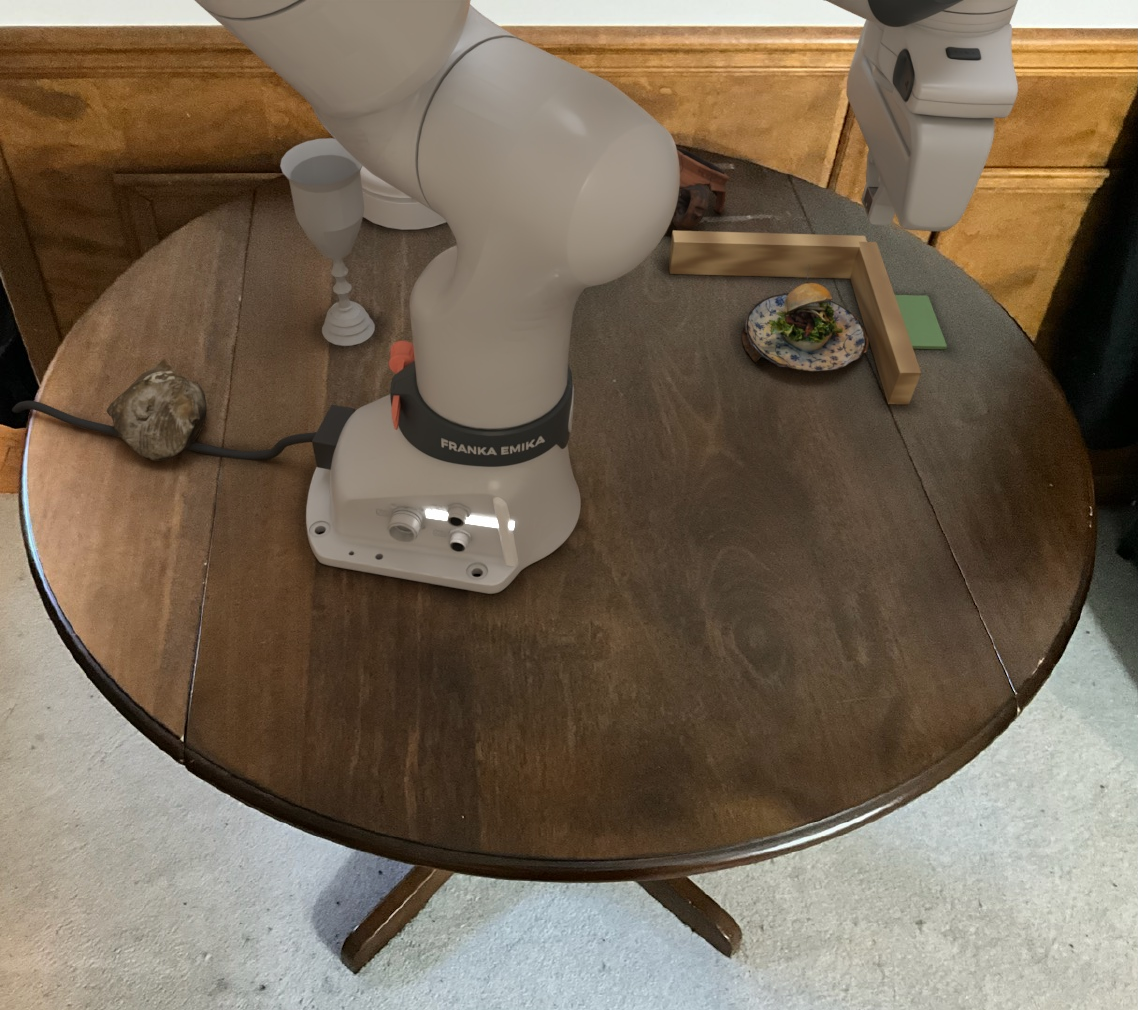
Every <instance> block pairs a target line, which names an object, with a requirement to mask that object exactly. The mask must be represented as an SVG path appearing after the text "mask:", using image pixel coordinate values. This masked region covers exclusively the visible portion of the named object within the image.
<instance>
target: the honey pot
mask: <svg viewBox="0 0 1138 1010" xmlns="http://www.w3.org/2000/svg"><path fill="white" fill-rule="evenodd" d="M360 175H361V183H362V191H363V199H364V214H363V218H364V219H366V220H367V221H369V222H370V223H372V224H375V225H379V226H382V227H384V228H387V229H395V230H407V231H408V230H423V229H428V228H434V227H436V226H439V225H442V224H446V223H447V222H446V220H445V219H444V218H443V217H442V216H440V215H439V214H437V213H436V212H434V211H433V210H431V209H429V208H428V207H426V206H424V205H423V204H421V203H419V202H418V201H416V200H414V199H413V198H411V197H409V196H408V195H406V194H404V193H403V192H401V191H399V190H398V189H396V188H395V187H393V186H391V185H390V184H388V183H386V182H385V181H383V180H381V179H380V178H378V177H376V176H375V175H373V174H372V173H370V172H369V171H368V170H367V169H366V168H365V167H364V166H362V168H361V171H360Z"/></svg>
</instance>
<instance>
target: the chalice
mask: <svg viewBox="0 0 1138 1010" xmlns="http://www.w3.org/2000/svg"><path fill="white" fill-rule="evenodd" d="M362 166H363V165H361V164H360V163H359V162H358V161H357V160H356V159H355V158H354V157H353V156H352V155H351V154H350V153H349V152H348V151H347V150H346V149H345V148H344V147H343V146H342V145H341V144H340V143H339V142H338V141H337V140H336V139H335V138H334V137H329V138H316V139H312V140H307V141H303V142H302V143H299V144H296V145H294V146H293V147H292V148H290V149H288V151H286V152H285V154H284V155H283V156H282V157H281V160H280V167H279V168H280V169H281V172H282V174H283V175H284V176H285V178H286V179H287V180H288V182H289V186H290V192H291V193H290V194H291V198H292V203H293V209H294V213H295V218H296V221H297V222H298V224H299V226H300V227H301V230H302V231H303V232H304V234H305V236H306V238H307V239H309V241H310V242H311V244H312V245H313V246H314V247H315V248H316V249H317V251H318V252H319V253H320V255H321V256H323V257H324V258H326V259H330V260H332V269H331V270H330V275H332V276H333V277H334V279H335V284H334V285H333V286H332V291H333V292H334V293H335V294H337V297H338V301H337V302H335V303H334V304H332V305H331V306H330V308H329V309H328V310H327V312H326V317H325V319H324V323H323V325H322V327H321V333H322V336H323V338H324V339H325V340H326V341H327V342H328V343H331V344H333V345H336V346H341V347H348V346H349V347H350V346H355V345H360V344H362V343H364V342H366V341H367V340H368V339H370V338H371V337H372V336H373V334H374V332H375V328H376V327H375V326H376V325H375V323H374V321H373V319H372V318H371V317H370V315H369V313H368V312H367V311H366V309H365V308H364V307H363V305H361V304H360V303H358V302H356V301H353V300H350V298H349V293H350V292H351V291H352V289H353V288H352V284H351V283H349V282H348V281H347V276H348V274H349V269H348V267H347V266H346V265H345V262H344V258H345V257H347V256H348V255H350V254H351V252H352V251H353V248H354V245H355V242H356V240H357V238H358V235H359V234H360V230H361V226H362V222H363V218H364V217H363V214H364V199H363V191H362V183H361V175H360V171H361V168H362Z"/></svg>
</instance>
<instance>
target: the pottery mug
mask: <svg viewBox="0 0 1138 1010" xmlns="http://www.w3.org/2000/svg"><path fill="white" fill-rule="evenodd" d="M676 148H677V153H678V159H679V167H680V186H679V190H680V196H679V195H678V201H677V205H676V209H675V212H674V215H673V217H672V220H671V222H670V225H669V227H668V229H667V231H666V233H665V235H664V236H666V235H667V234H668V232H669V229H670V227H671V226H672V223H673V225H674V226H675V228H676V229H677V231H694V230H695V228H696V227H697V225H699V223H700V222H701V221H702V220H703V218H704V217H705V215H706V212H707V211H708V208H709V204H710V191H711V192H712V193H713V194H714V196H715V197H716V199H715V204H714V211H715V212H716V213H722V212H723V209H724V208H725V203H726V197H727V195H726V194H727V191H726V186H725V185H726V184H727V182H728V181H729V180H730V176H728V175H727V174H726V173H725V171H724V170H723V169H722V168H720V167H718V166H717V165H715V164H714V163H713V162H710V161H708V160H707V159H705V158H703V157H701V156H699V155H697V154H696V153H693V152H691V151H689V150H686V149H684V148H683V147H678V146H676ZM707 187H708V188H707Z"/></svg>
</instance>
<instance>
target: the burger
mask: <svg viewBox="0 0 1138 1010" xmlns="http://www.w3.org/2000/svg"><path fill="white" fill-rule="evenodd" d="M808 276H809V265H808V274H807V277H806V278H809V277H808ZM832 300H833V297H832V295H831V292H830V291H829V290H828V289H827V288H826V287H824V286H823V285H822V284H820V283H814V282H809V280H807V283H802V284H800V285H798V286H796V287H795V288H794V289H793V290H791V291H790V292H784V293H781V294H773V295H771V296H768V297H766V298H764V299H762V300H761V301H759V302H758V303H756V304H755V305H754V306H753V307H752V308H751V309H750V310H749V312H748V313H747V316H746V319H745V324H744V326H743V329H742V334H741V340H742V345H743V347H744V350H745V352H747V353H748V354H749V357H750V358H751V359H752V361H753V362H755V363H757V362H758V361H759V360H760V359H761V358H763V359H766V361H769V362H770V363H772V364H774V365H775V366H777V367H781V368H790V369H794V370H796V371H801V372H816V373H817V372H823V371H824V372H825V371H836V370H837V371H838V370H840V369H842V368H845V367H847V366H848V365H850V364H851V363H853V362H854V361H857V360H858V359H860V358H861V357H862V355H864V353H867V351H868V349H869V344H870V343H869V338H868V336H867V333H866V329H865V326H864V325H862V321H861V320H860V318H858V316H856V315H855V314H854V313H853V312H852V311H850V310H849V309H847V308H846V307H844V306H842V305H840V304H839V303H837V302H835V301H832Z"/></svg>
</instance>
